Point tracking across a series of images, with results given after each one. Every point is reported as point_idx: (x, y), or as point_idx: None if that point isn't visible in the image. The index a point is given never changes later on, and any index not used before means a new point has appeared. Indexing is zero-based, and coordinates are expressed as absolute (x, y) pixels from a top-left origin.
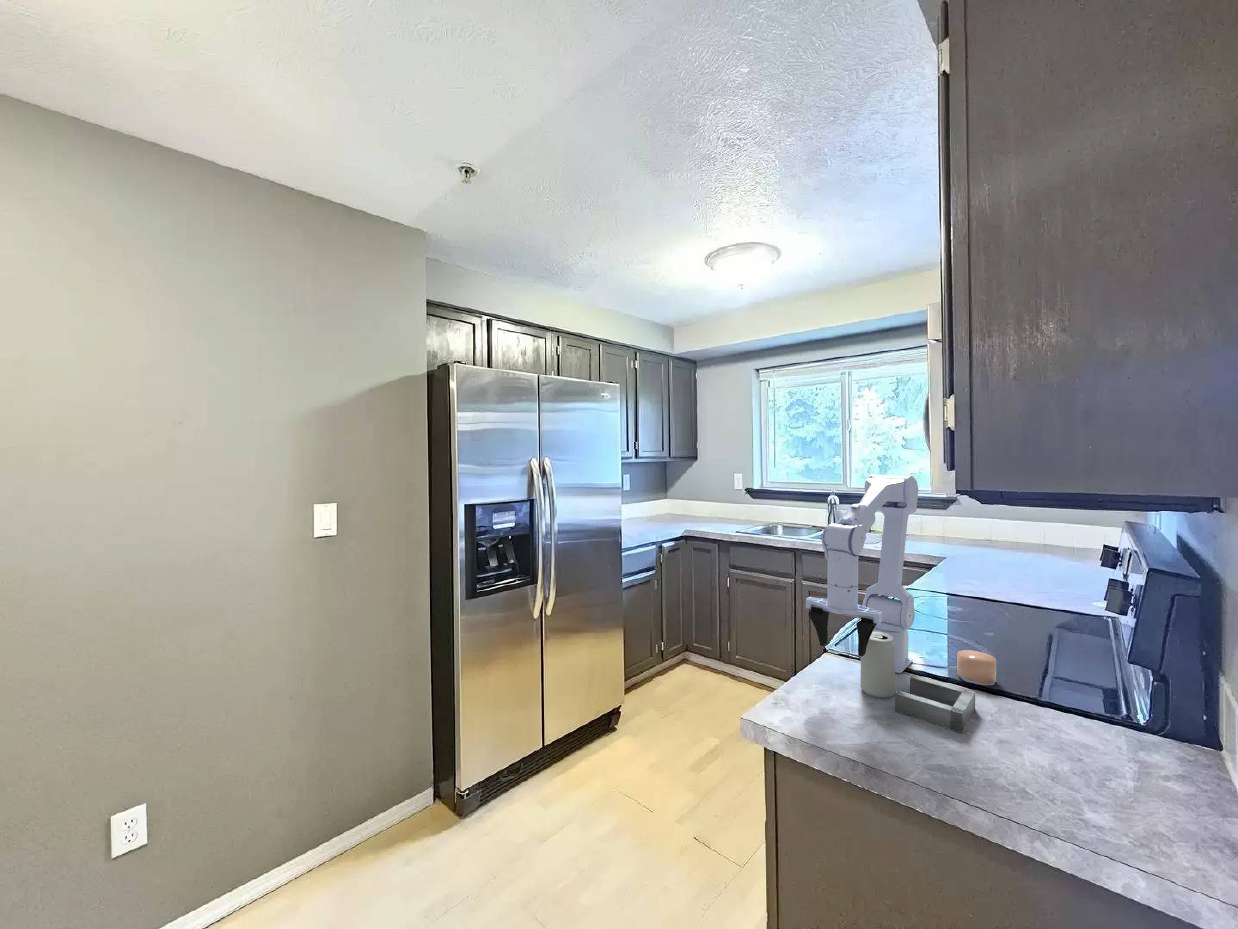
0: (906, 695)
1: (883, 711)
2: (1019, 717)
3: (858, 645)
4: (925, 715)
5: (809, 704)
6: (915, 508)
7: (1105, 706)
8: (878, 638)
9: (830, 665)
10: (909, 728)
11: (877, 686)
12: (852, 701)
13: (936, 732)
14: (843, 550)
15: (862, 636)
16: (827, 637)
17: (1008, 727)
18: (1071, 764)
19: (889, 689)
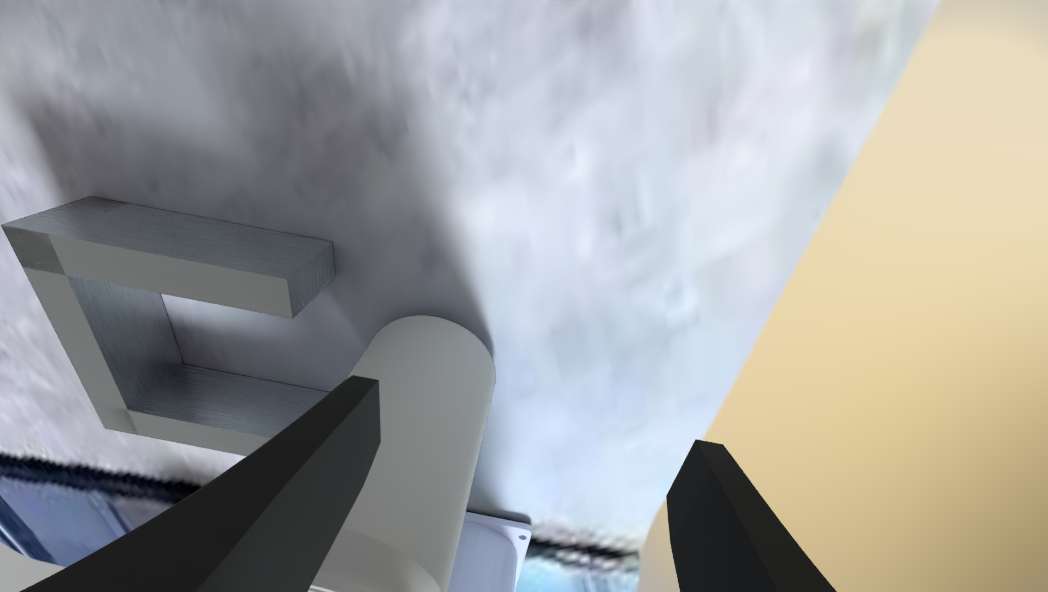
0: (242, 284)
1: (366, 217)
2: (68, 389)
3: (314, 448)
4: (198, 229)
5: (694, 81)
6: None
7: (10, 509)
8: None
9: (639, 482)
10: (229, 117)
11: (399, 340)
12: (500, 239)
13: (146, 148)
14: None
15: (148, 555)
16: (673, 552)
17: (44, 318)
18: None
19: (364, 351)
